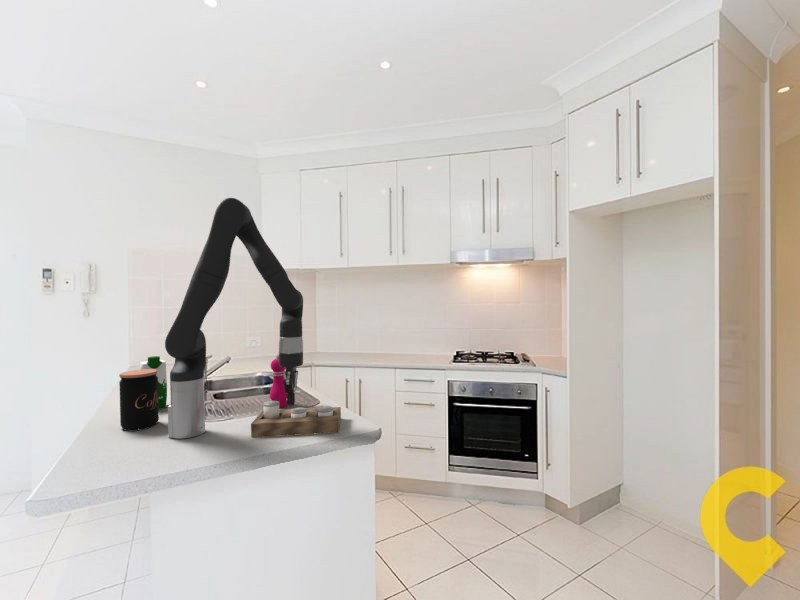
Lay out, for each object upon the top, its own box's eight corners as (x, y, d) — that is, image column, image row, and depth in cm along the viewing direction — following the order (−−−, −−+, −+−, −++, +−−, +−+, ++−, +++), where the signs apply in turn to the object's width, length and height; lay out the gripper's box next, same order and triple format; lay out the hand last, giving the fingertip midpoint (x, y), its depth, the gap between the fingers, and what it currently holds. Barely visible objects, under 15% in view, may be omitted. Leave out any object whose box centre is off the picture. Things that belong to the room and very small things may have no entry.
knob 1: (261, 421, 123) (261, 405, 123) (265, 416, 128) (265, 401, 128) (277, 420, 124) (277, 404, 124) (281, 415, 129) (280, 400, 129)
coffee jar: (136, 432, 125) (135, 375, 125) (112, 429, 128) (111, 374, 128) (166, 422, 135) (165, 369, 135) (143, 419, 138) (142, 368, 138)
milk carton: (142, 412, 147) (140, 359, 147) (139, 407, 154) (137, 356, 154) (169, 407, 153) (167, 356, 153) (165, 403, 160) (163, 354, 160)
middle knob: (289, 428, 124) (289, 412, 124) (292, 423, 129) (292, 407, 129) (305, 427, 125) (305, 411, 125) (307, 422, 130) (307, 407, 129)
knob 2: (317, 426, 125) (316, 410, 125) (318, 421, 130) (318, 406, 130) (332, 425, 125) (332, 410, 125) (333, 421, 130) (333, 406, 130)
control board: (251, 437, 119) (250, 423, 119) (262, 422, 133) (262, 410, 132) (338, 432, 121) (338, 419, 121) (340, 418, 135) (340, 406, 135)
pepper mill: (283, 409, 148) (282, 355, 148) (266, 408, 150) (264, 355, 150) (292, 403, 155) (291, 353, 155) (275, 403, 157) (274, 353, 157)
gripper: (283, 348, 133) (283, 399, 133) (274, 353, 120) (274, 410, 120) (305, 347, 133) (305, 399, 134) (299, 353, 120) (299, 410, 120)
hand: (291, 404), depth 127 cm, fingers closed
